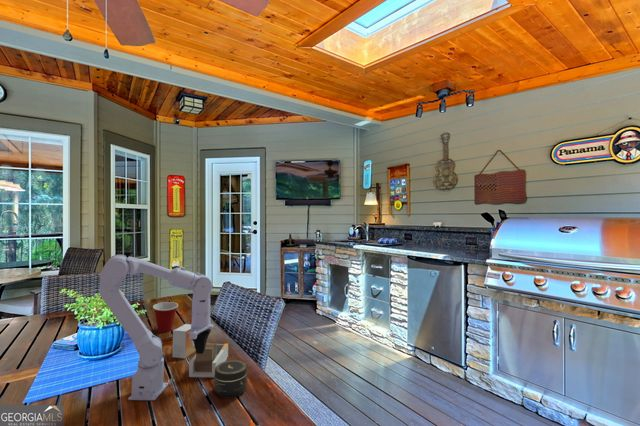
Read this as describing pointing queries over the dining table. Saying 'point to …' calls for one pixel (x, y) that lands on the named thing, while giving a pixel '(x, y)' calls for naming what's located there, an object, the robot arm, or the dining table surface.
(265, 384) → the dining table surface
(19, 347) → the dining table surface
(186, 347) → the small box
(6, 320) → the dining table surface
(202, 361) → the walnut block
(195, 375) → the grey chute
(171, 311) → the plastic cup
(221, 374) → the jar
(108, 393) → the dining table surface
